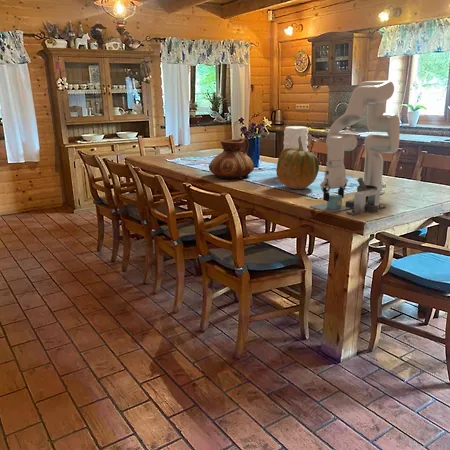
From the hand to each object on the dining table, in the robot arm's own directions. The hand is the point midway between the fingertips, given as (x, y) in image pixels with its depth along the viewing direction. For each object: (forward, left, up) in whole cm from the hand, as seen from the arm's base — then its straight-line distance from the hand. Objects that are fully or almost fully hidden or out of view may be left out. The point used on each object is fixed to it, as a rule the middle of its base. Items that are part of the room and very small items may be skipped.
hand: (333, 199), depth 210 cm
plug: (0, +1, -4) cm, 4 cm away
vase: (-42, -75, -5) cm, 86 cm away
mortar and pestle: (-25, -2, -5) cm, 26 cm away
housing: (-9, +12, -5) cm, 16 cm away
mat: (+1, -1, -5) cm, 5 cm away
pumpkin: (-17, -45, -5) cm, 48 cm away
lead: (-9, +9, -5) cm, 14 cm away
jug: (-7, -99, -5) cm, 99 cm away
